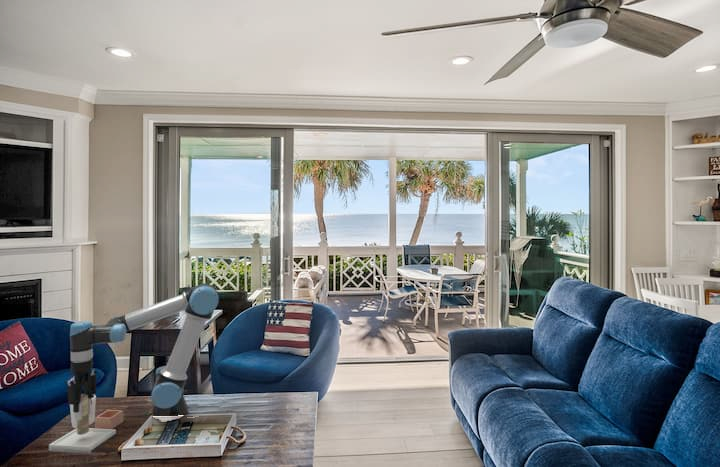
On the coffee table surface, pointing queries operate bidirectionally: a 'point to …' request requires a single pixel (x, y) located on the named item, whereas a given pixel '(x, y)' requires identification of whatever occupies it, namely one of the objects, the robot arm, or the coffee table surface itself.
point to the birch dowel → (83, 416)
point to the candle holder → (91, 416)
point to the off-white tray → (81, 441)
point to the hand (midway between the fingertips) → (82, 416)
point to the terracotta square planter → (109, 419)
